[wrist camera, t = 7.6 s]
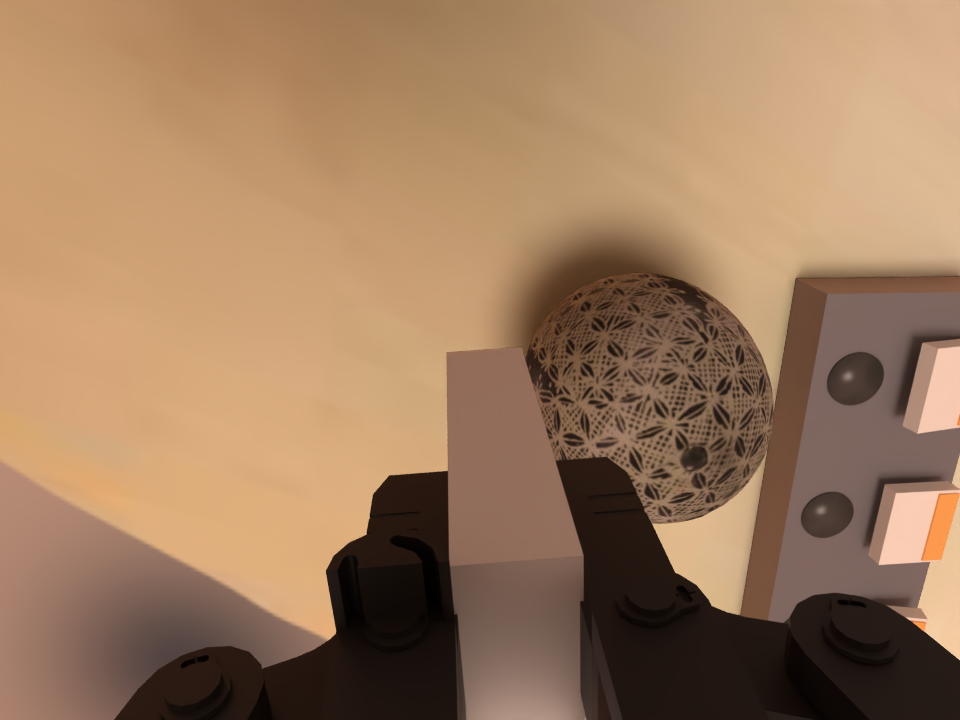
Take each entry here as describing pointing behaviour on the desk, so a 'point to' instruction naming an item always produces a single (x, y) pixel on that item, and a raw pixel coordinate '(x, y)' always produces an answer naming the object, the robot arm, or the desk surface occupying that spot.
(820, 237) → the desk surface
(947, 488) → the middle rocker
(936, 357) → the rocker
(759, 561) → the power strip
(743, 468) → the decorative egg
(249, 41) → the desk surface
